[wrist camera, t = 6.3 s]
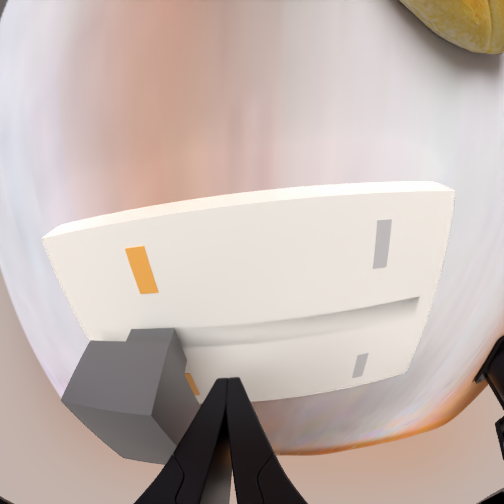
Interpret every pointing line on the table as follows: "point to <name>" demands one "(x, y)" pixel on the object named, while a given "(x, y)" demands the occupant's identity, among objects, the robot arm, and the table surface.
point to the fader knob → (134, 394)
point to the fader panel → (267, 281)
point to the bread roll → (464, 22)
